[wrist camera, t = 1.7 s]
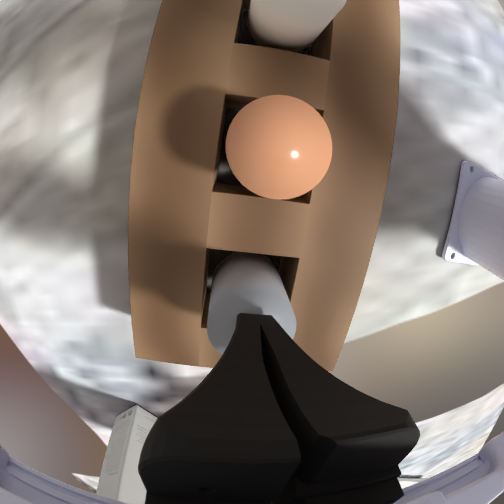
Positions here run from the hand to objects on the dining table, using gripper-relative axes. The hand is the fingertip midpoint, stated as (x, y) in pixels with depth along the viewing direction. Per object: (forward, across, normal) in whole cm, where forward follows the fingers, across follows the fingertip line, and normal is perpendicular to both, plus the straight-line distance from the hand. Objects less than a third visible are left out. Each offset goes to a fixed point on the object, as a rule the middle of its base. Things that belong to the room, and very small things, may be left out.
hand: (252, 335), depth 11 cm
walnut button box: (+7, 0, -7) cm, 10 cm away
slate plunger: (+5, 0, 0) cm, 5 cm away
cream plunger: (+5, 0, -14) cm, 15 cm away
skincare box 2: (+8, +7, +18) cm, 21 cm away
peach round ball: (+5, 0, -7) cm, 8 cm away
